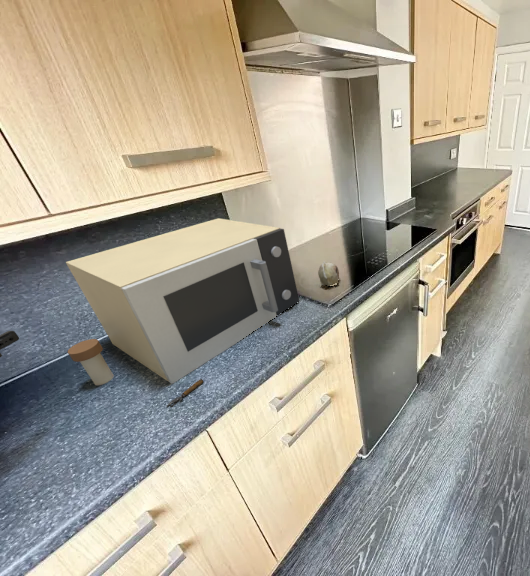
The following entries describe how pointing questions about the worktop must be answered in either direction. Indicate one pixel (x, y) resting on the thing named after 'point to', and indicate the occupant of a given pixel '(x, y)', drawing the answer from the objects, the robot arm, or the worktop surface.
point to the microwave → (162, 257)
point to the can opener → (186, 392)
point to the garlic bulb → (328, 274)
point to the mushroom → (91, 360)
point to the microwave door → (203, 307)
